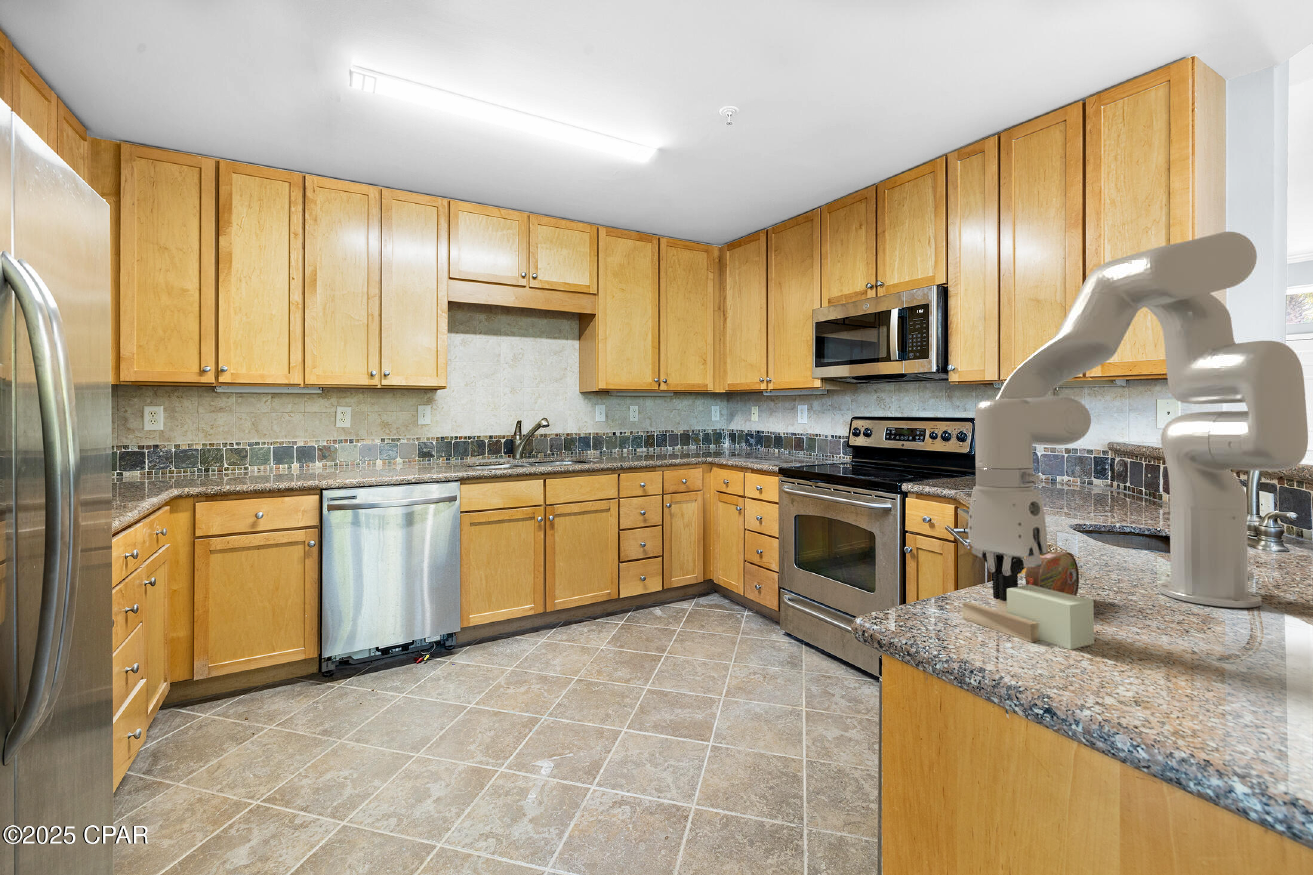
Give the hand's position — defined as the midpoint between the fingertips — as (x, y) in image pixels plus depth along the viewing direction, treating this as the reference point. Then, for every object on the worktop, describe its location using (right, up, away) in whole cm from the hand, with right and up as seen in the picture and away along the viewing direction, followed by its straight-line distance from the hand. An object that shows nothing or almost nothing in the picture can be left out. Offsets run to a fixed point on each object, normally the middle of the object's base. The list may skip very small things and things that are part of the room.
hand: (1005, 598), depth 88 cm
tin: (+13, -4, +8) cm, 16 cm away
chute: (+1, -4, -1) cm, 4 cm away
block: (+3, -4, -6) cm, 7 cm away
